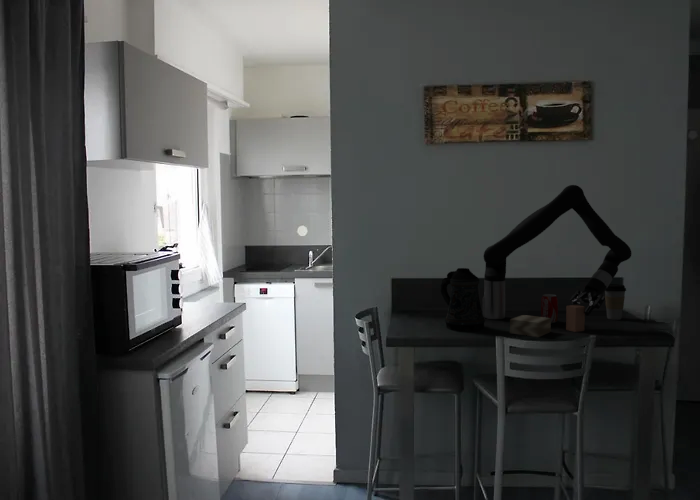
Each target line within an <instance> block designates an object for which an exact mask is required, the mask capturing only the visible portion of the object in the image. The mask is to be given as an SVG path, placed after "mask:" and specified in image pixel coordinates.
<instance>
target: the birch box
mask: <svg viewBox="0 0 700 500" xmlns="http://www.w3.org/2000/svg"><path fill="white" fill-rule="evenodd" d="M551 324H552V323H551V318H545V317H541V316H537V315H536V316H535V315H526V314H522V315H518V316H515V317H512V318H510V319H509V334H511V335H512V334H515V335H520V336H526V335H527V336H528V337H533V338H540V337H542V336H545V335H547V334H549V333H551V330H552V327H551V326H552V325H551ZM527 336H526V337H527Z"/></svg>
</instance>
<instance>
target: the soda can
mask: <svg viewBox="0 0 700 500" xmlns="http://www.w3.org/2000/svg"><path fill="white" fill-rule="evenodd" d="M540 317H545V318H551V324H555V323H556V322H558V318H559V299H558V296H557V295H556V294H553V293H552V294H551V293H545V294H542V297H541V301H540Z"/></svg>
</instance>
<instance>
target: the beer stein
mask: <svg viewBox="0 0 700 500" xmlns="http://www.w3.org/2000/svg"><path fill="white" fill-rule="evenodd" d="M479 284H480V278H479V277H478V276H477V275H476V274H474V273H473V272H472V271H471V270H470V268H466V267H459V268H457V269H456V270H453V271H450V272H448V273H447V274H446V277H445V278H443V279H442V280H441V283H440V286H439V288H440V293H441V297H442V299H443V301H444V302H445V303H446V304H447V306H448V310H447V314H446V316H445V327H446V329H448V330H451V331H457V332H458V331H459V332H478V331H482V330H484V329H485V321H486V320H485V319H486V318H484V317H483V309H482V307H481V306H482V305H481V299H480V294H479ZM448 285H451V288H450V295H449V293H448Z"/></svg>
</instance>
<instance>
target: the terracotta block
mask: <svg viewBox="0 0 700 500" xmlns="http://www.w3.org/2000/svg"><path fill="white" fill-rule="evenodd" d="M585 310H586V306H583V305H580V304H579V305H571V304H570V305H566V309H565V313H566V319H565V322H566V323H565V330H566V331H570V332H574V333H577V332H585V322H586V321H585V318H586V317H585V316H586V315H585V313H584V311H585Z"/></svg>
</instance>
